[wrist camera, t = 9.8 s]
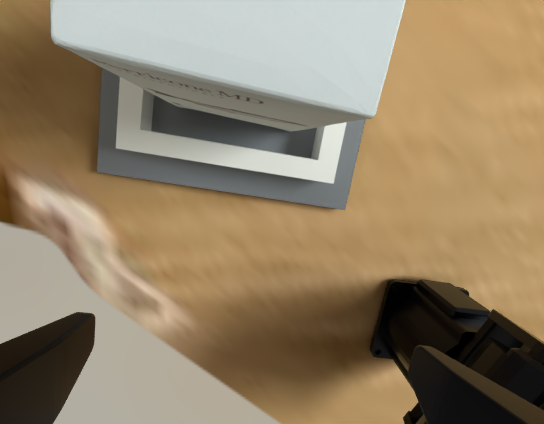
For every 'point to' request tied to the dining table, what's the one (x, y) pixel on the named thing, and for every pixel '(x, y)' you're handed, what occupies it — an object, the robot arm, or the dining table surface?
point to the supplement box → (242, 53)
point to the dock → (222, 149)
